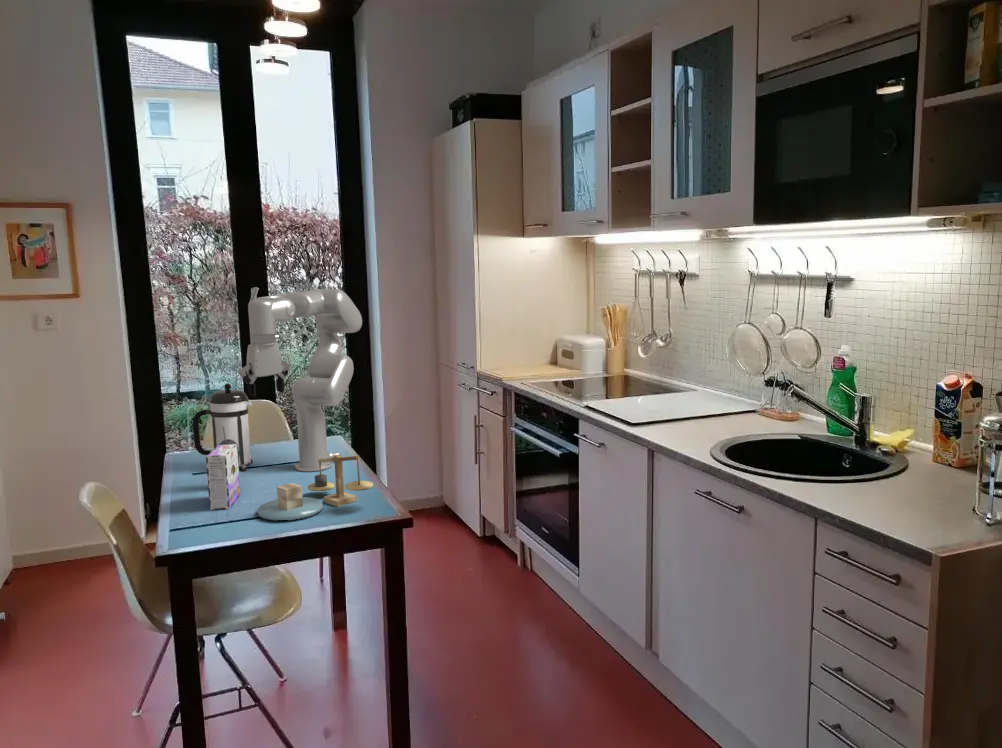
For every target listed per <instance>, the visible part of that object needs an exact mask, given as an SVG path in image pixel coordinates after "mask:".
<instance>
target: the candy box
mask: <svg viewBox="0 0 1002 748" xmlns="http://www.w3.org/2000/svg"><path fill="white" fill-rule="evenodd" d="M212 450H213V451H212V452H210V453H209V454H208V455H205V458H206V459H205V461H206V474H207V475H206V476H207V485H208V486H207V487H208V499H209V500H208V501H209V510H210V511H212V510H213V511H215V510H216V511H217V510H218V511H219V510H221V511H222V510H224V511H225V510H227V511H228V510H230V509H231V508H232V506H233V505H235V503H236V502H237V500H238V499H239V497H240V496H241V494H242V493H241V481H240V468H239V466H238V453H237V444H229V445H218V446H217V447H216V448H215V449H214V448H213V449H212Z"/></svg>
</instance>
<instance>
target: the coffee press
mask: <svg viewBox="0 0 1002 748" xmlns="http://www.w3.org/2000/svg"><path fill="white" fill-rule="evenodd" d="M223 388H224V389H223V390H217V391H215V392H213V393H212V394H211V395H210V397H209V399H208V403H209V406H210V409H202V410H199V411H198V412H197V413H195V414H194V416H193V420H192V431H193V443H194V448H195V450H196V451H197V452H198V453H199V454H201V455H204V456H207V455H208V454H209V453H210V452H212V451H213V450H214V449H215V448H216V447H217V446H218V445H219V444H220V443H221V442H222V441H223V440H225V439H224V433H223V428H222V426H224V429H225V435H226V440H227V439H230V440H233V441H235V442H236V443H237V444H238V446H239V448H240V456H239V471H241V472H246V471H247V466H246V465H248V464H249V465H253V464H254V460H253V459H252V457H251V455H252V454H251V441H250V427H249V407H252V406H253V404H252V402H251V401H250V400H249V396H247V393H245V392H244V391H242V390H240V389H231V388H232V385H231V384H230V383H225V384H224V387H223ZM207 415H210V418H211V431H212V445H213V449H210V450H207V449H204V448H203V447H202V445H201V437H200V435H201V434H200V424H199V423H200V419H201V418H202V416H207Z"/></svg>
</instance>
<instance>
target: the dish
mask: <svg viewBox="0 0 1002 748" xmlns="http://www.w3.org/2000/svg"><path fill="white" fill-rule="evenodd" d="M302 500H303V506H302V507H298V508H295V509H291V510H285V509H282V508H280V507H278V499H275V500H274V499H273V500H271V501H267V502H266V503H263V504H261V505H260V506H259V507H258V508H257V515H258V516H259V517H260V518H262V519H265V520H270V521H277V520H288V521H295V520H296V519H297V520H300V519H301V518H302V519H305V517H306V518H308V517H311V516H315V515H316V514H318V513H320V512H321V511H322V510H323V507H324V505H323V502H322V500H320V499H317V498H313V497H305V496H302Z"/></svg>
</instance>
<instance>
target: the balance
mask: <svg viewBox="0 0 1002 748" xmlns="http://www.w3.org/2000/svg"><path fill="white" fill-rule="evenodd" d="M360 460H361V459H360V455H351V456H343V455H342V454H339V455H337V456H334V458H324V459H318V463H319V470H320V471H319V474H316V475H315V476H314V482H313V483H311V484H308V485H307V490H308V491H311V492H325V491H330V490H332V489H334V488H335V493H333V494H330V495H327V496H323V502H324V503H325V504H328V505H331V506H333V505H334V507H336V506H337V508H339V507H342V506H345V504H346V505H349V504H352V502H353V503H356V502H358V495H355V494H352V493H350V492H349V493H348V492H346V491H345V489H346V490H347V491H353V492H359V491H366V490H370V489H372V488H373V487H374V482H372V481H370V480H369V481H368V480H360V479H361V476H360ZM344 461H345V462H346V461H357V466H356V467H357V480H354V481H351V482H348V483H345V485H344V473H343V472H344V471H343V470H344V469H343V467H344V466H343V462H344ZM322 462H332V463H334V475H335V477H334V478H335V483H334V482H331V481H328V476H327V474H322V470H321V463H322ZM344 488H345V489H344ZM355 501H356V502H355ZM338 506H339V507H338Z"/></svg>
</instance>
